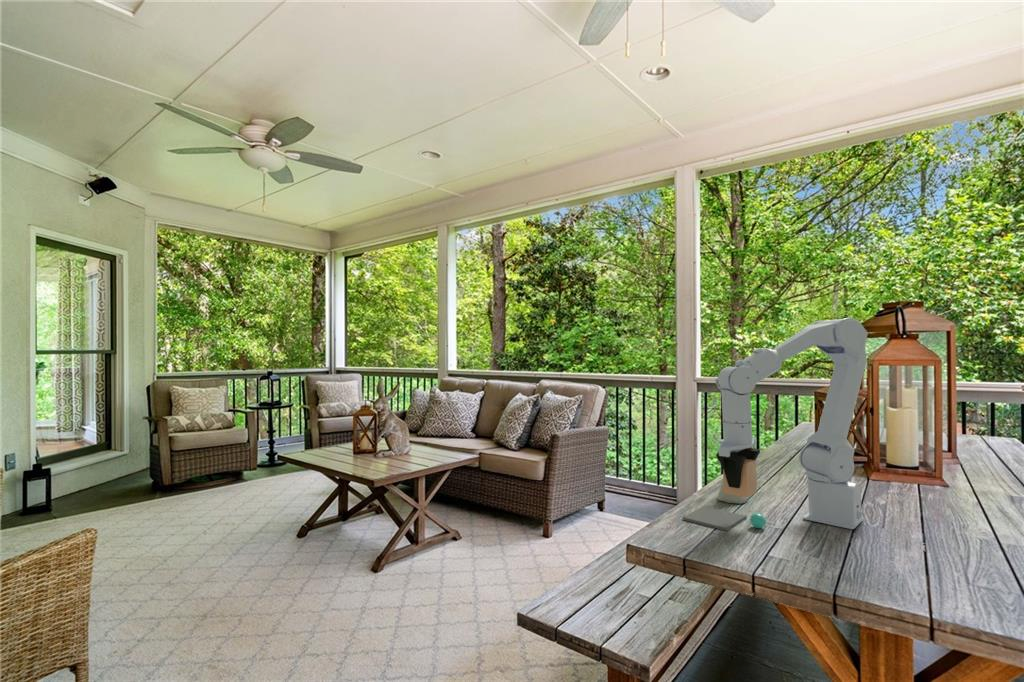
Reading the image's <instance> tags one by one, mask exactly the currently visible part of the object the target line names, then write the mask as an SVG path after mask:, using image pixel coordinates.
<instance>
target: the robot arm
mask: <svg viewBox="0 0 1024 682" xmlns="http://www.w3.org/2000/svg"><path fill="white" fill-rule="evenodd" d="M868 335H869V333H868V331H867V329H866V328H865V327H864V326H863V325H862V323H861V321H859V320H858V319H856V318H854V317H845V318H841V319H840V318H839V319H828V320H824V319H821V320H817V321H815V322H813V323H812V324H809V325H807V326H804V328H802V329H801V330H800V331H798V332H797V333H794V335H792V336H791V337H789V338H787V339H786V340H784V341H783V342H781V343H780V344H778V345H777V346H775V347H773V348H772V349H771V348H768V347H767V348H766V347H763V348H755V349H754V350H752V352H753V353H752V354H751V355H748V356H747V357H745V358H743V359H738V360H737V361H735V363H734V366H725V367H723V368H722V369H721V370H720V371H719V373H718V374H717V378H715V385H716V386H717V388H718V389H719V390H720V393H721V410H722V411H721V412H722V414H721V415H722V434H723V435H722V436H723V439H722V438H721V439H718V442H717V443H718V444H719V446H718V452H717V453H716V459H717V460H718V462H719V463H720V465H721V467H722V471H723V470H724V472H725V476H726V479H727V482H728V485H729V487H733V488H740V484H741V473H742V468H743V464H744V461H745V459H752V460H756V461H757V458H758V457H759V455H760V449H758V448H754V447H756V446H757V439H756V438H757V437H753V427H752V426H753V425H752V422H753V421H752V404H751V403H752V401H751V393H752V392H753V391H754V390H755V388H756V385H757V384H758V383H760V382H761V381H764V380H765V379H766V378H768V377H770V376H771V375H773V374H776V373H777V372H779V371H780V370H781V368H782V364H783V362H784V361H787V360H788V359H791V358H793V357H795V356H796V355H798V354H800V353H802V352H804V351H806V350H808V349H810V348H812V347H816V348H817V349H818V350H820V351H821V352H822V353H823V354H825V355H827V356H828V358H830V360H831V361H832V363H833V364H834V365H833V371H832V374H831V379H830V382H829V386H828V390H827V393H826V397H825V402H824V406H823V409H822V413H821V417H820V420H819V425H818V428H817V431H815V432H814V433H812V434H811V435H810V436H809V437H807V441H806V443H805V446H804V447H802V448H801V450H800V452H799V454H798V459H799V464H800V465H801V467H802V468H803V469H804V470H805V475H806V476H807V491H808V492H807V493H808V494H807V495H808V496H807V497H808V512H807V513H805V514H804V515H803V516H802V519H803V520H806V521H811V522H817V523H822V524H825V525H830V526H834V527H839V528H845V529H848V530H854V529H856V528H857V526H858V525H859V524H860V523H861V522H863V520H864V518H863V509H862V508H863V507H862V495H861V494H862V491H861V487H860V486H861V485H859V484H858V483H856V482H852V481H850V480H849V479H850V478H852V476H853V474H854V471H855V463H854V454H855V449H854V447H853V446H852V445H851V443H850V442H849V440H848V439H847V438H848V434H849V431H850V426H851V423H852V419H853V416H854V411H855V408H856V404H857V400H858V396H859V391H860V389H861V385H862V382H863V379H864V377H863V376H864V374H865V369H866V366H867V353H866V343H867V338H868Z"/></svg>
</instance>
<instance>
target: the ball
mask: <svg viewBox="0 0 1024 682" xmlns="http://www.w3.org/2000/svg"><path fill="white" fill-rule="evenodd" d="M749 521H750V524H751V526H752V527H754V528H755V529H763V528H764V527H765V526H766V523H767V522H766V521H767V520H766V518H765V516H764V515H763V514H762V513H758V512H755V513H753V514H751V516H750V518H749Z"/></svg>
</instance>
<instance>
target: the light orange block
mask: <svg viewBox="0 0 1024 682" xmlns="http://www.w3.org/2000/svg"><path fill="white" fill-rule="evenodd" d="M722 476H723V477H722V481H723V486H724V493H727V494H731V495H736V496H741V497H746V498H747V499H748V498H749V497H752V496H753V495H755V494H756V493H758V485H757V484H758V483H757V482H758V481H757V459H756V460H752V459H745V461H744V464H743V468H742V473H741V484H740V488H733V487H729V485H728V482H727V479H726V476H725V472H724V470H723V469H722Z"/></svg>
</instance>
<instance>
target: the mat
mask: <svg viewBox="0 0 1024 682" xmlns="http://www.w3.org/2000/svg"><path fill="white" fill-rule="evenodd" d="M747 518H748V517H747V515H743V514H740V513H737V512H736V513H735V512H731V511H727V510H723V509H718V508H714V507H708V506H702V507H699V508H698V509H696V510H693V511H692V512H689V513H688V514H685V515H684V516H682V520H683V521H686V522H690V523H695V524H698V525H701V526H706V527H709V528H714V529H716V530H717V529H719V530H722V531H725V532H727V531H729V530H730V529H733V528H734V527H736V526H737V525H738V524H741V523H742V522H744V521H745V520H747Z"/></svg>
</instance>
